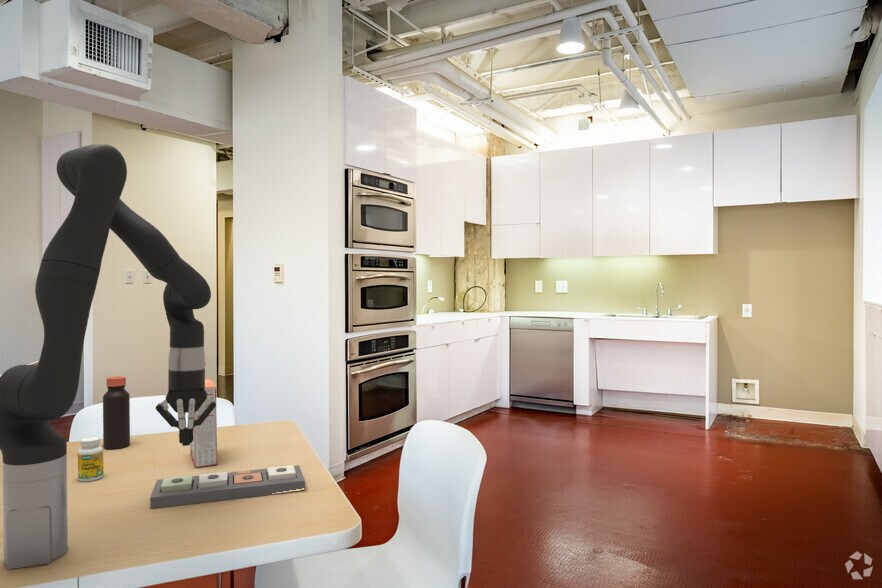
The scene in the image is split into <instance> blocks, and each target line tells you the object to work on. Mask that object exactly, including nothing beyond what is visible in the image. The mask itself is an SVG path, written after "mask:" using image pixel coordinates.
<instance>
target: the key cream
mask: <svg viewBox="0 0 882 588" xmlns="http://www.w3.org/2000/svg"><path fill="white" fill-rule="evenodd" d="M294 466H295V465H294V464H292V465H283V466H273V467H272V466H271V467H267V468H266V469H267V476H268V481H272V480H281V479H290V478H296V472H295V469H294Z"/></svg>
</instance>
